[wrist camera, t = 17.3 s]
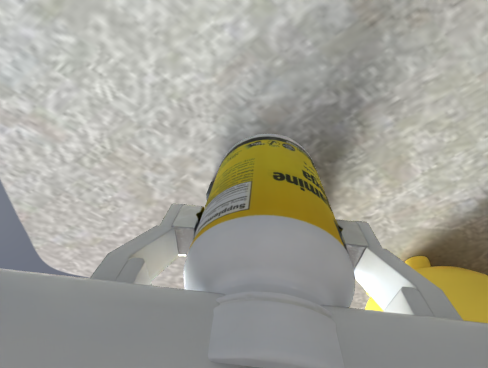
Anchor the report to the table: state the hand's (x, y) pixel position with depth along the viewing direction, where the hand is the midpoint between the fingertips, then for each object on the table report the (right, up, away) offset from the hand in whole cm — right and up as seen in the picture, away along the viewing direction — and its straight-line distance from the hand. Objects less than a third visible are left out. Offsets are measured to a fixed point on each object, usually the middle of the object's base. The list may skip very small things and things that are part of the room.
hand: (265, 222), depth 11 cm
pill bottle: (0, +3, +4) cm, 5 cm away
